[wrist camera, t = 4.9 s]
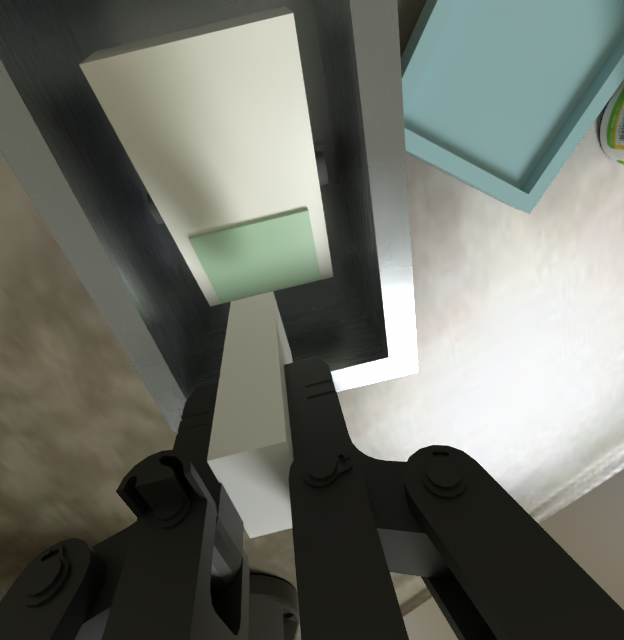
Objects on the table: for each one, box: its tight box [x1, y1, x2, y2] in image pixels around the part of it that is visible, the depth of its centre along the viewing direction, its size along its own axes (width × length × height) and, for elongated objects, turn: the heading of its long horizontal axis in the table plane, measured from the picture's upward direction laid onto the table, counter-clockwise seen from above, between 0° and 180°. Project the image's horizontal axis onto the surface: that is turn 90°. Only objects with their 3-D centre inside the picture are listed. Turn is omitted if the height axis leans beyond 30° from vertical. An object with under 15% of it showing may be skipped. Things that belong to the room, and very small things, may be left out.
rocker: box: [79, 6, 333, 306], centre depth 14 cm, size 10×7×2 cm
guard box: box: [0, 0, 418, 431], centre depth 15 cm, size 17×11×8 cm, turn 11°
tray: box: [401, 0, 624, 214], centre depth 17 cm, size 10×10×2 cm
